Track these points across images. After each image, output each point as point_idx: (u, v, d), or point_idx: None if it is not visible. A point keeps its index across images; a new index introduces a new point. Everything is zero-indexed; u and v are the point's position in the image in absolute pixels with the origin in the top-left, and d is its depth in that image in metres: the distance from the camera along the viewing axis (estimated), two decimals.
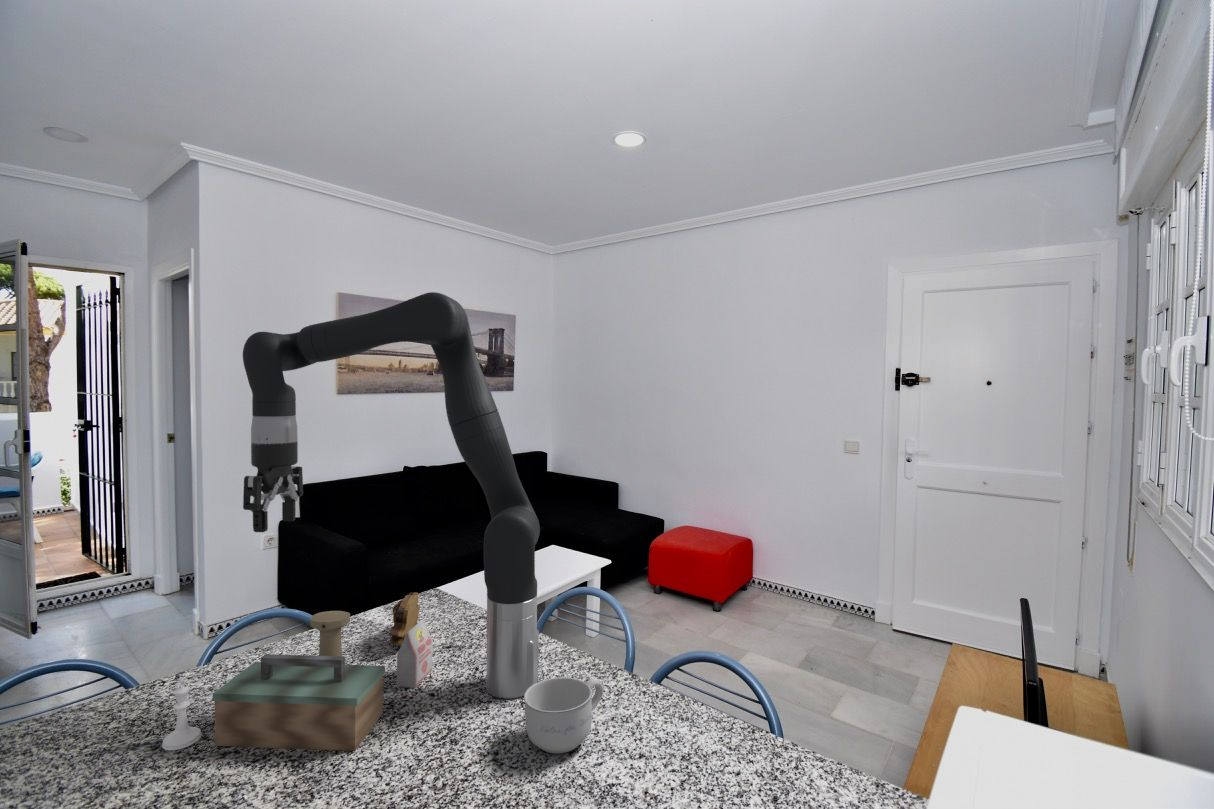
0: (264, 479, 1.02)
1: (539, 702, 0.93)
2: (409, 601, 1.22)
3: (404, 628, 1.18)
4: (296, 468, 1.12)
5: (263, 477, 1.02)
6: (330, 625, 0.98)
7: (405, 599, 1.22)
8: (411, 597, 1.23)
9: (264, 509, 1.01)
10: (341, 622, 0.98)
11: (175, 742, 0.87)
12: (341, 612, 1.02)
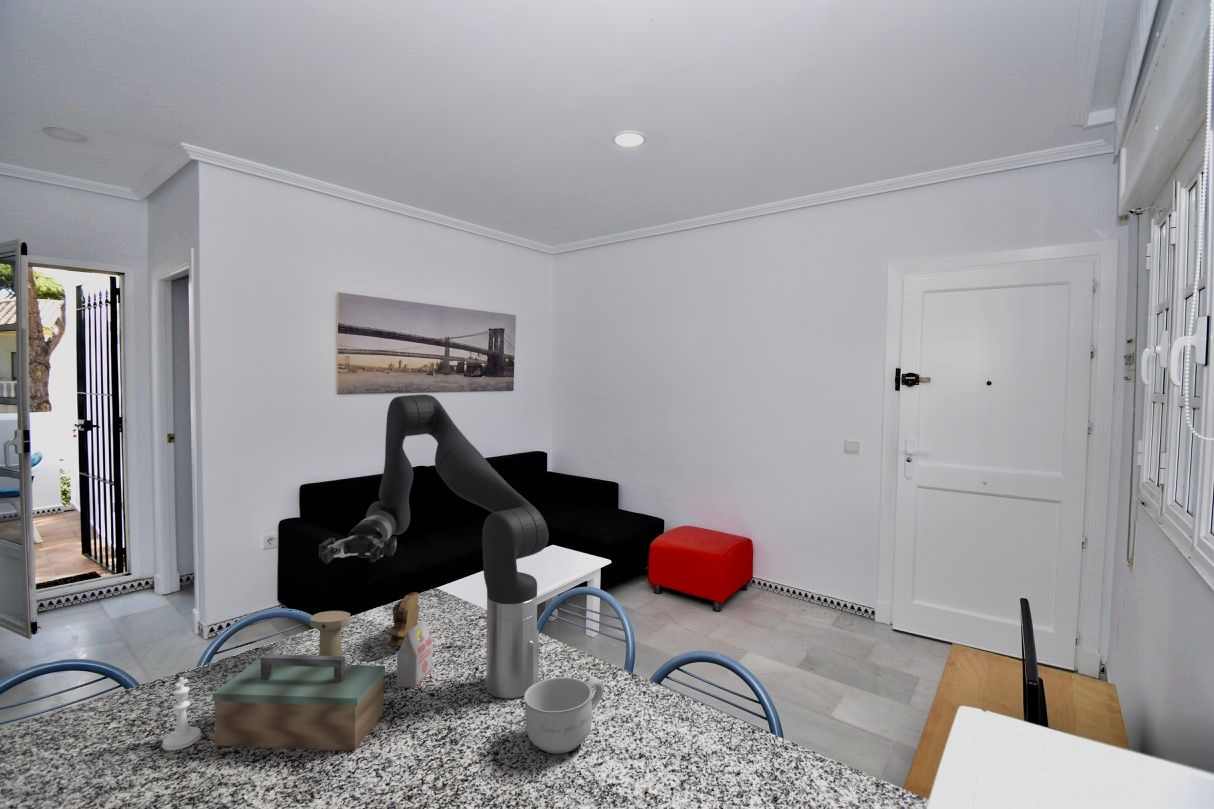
0: None
1: (539, 702, 0.93)
2: (409, 601, 1.22)
3: (404, 628, 1.18)
4: None
5: None
6: (330, 625, 0.98)
7: (405, 599, 1.22)
8: (411, 597, 1.23)
9: (329, 546, 1.14)
10: (341, 622, 0.98)
11: (175, 742, 0.87)
12: (341, 612, 1.02)
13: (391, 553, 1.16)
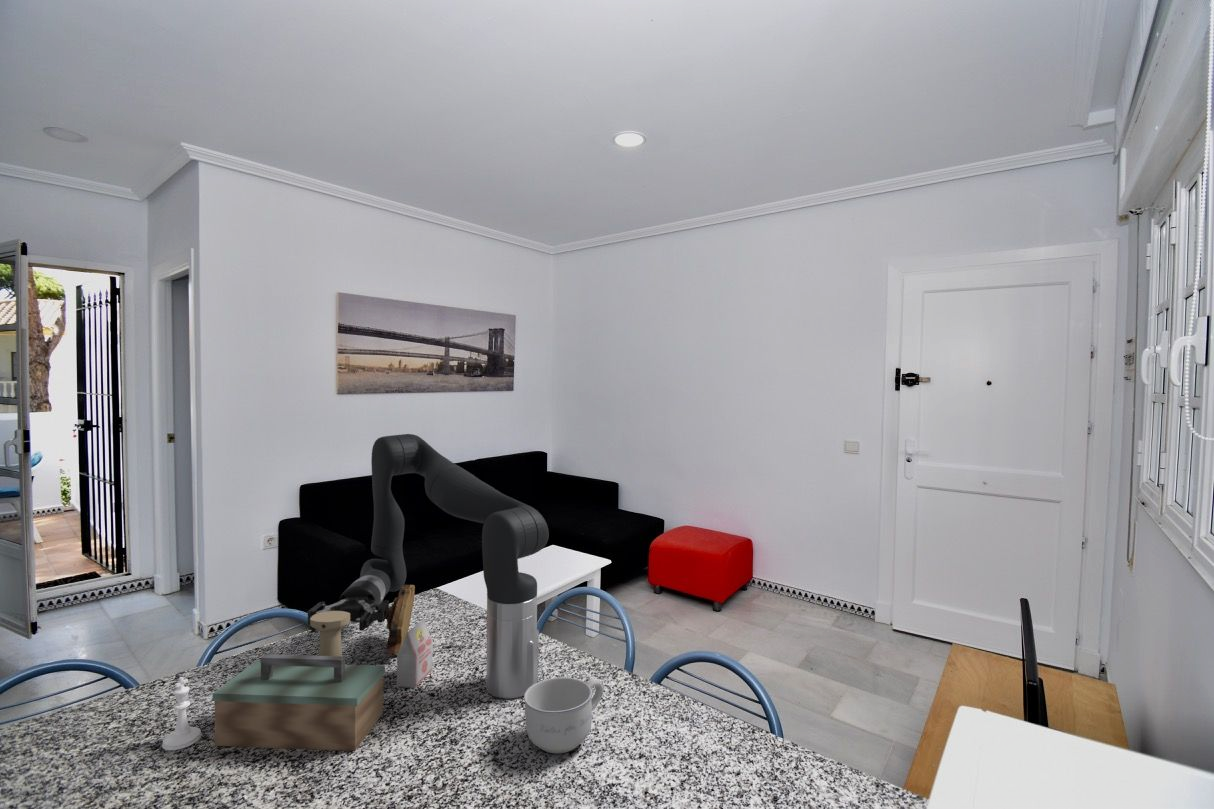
0: None
1: (539, 702, 0.93)
2: (401, 614, 1.15)
3: (400, 641, 1.15)
4: None
5: None
6: (330, 625, 0.98)
7: (397, 610, 1.16)
8: (403, 606, 1.17)
9: (317, 612, 1.09)
10: (341, 622, 0.98)
11: (175, 742, 0.87)
12: (341, 612, 1.02)
13: (382, 619, 1.11)
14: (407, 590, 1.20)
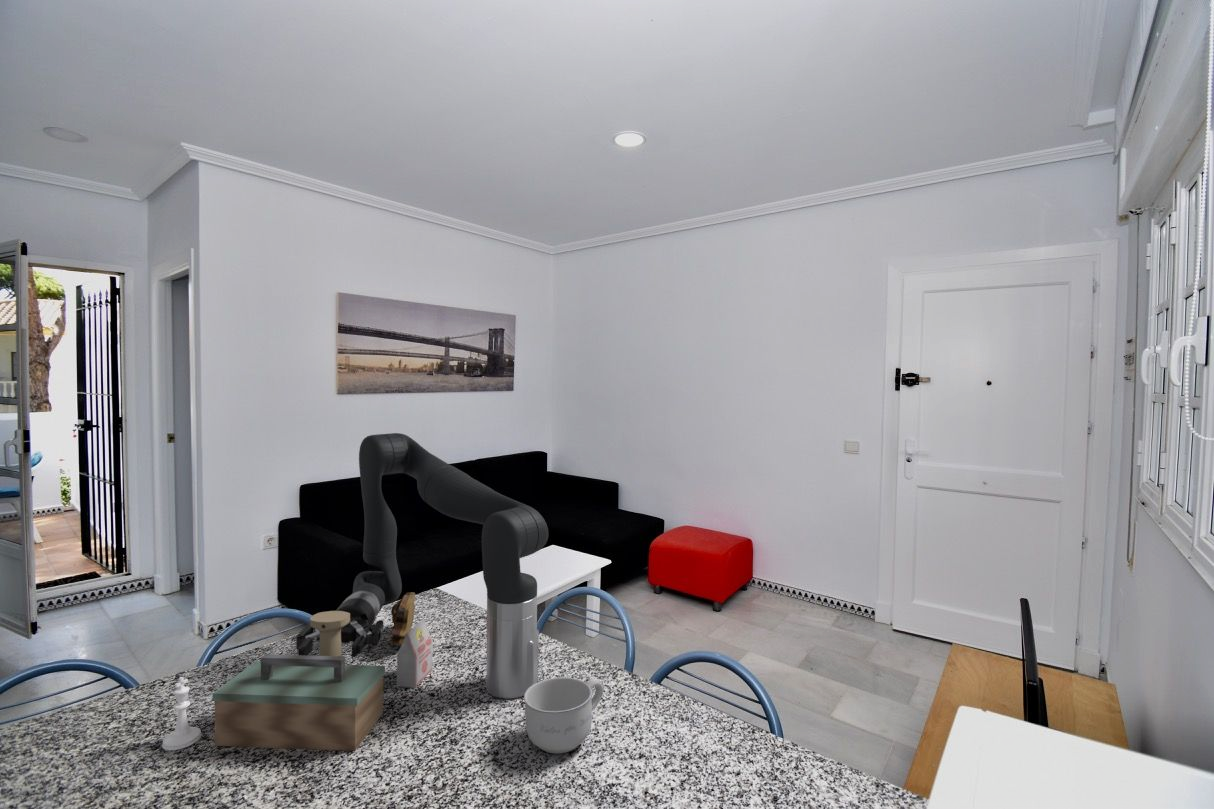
0: None
1: (539, 702, 0.93)
2: (408, 601, 1.22)
3: (405, 628, 1.18)
4: None
5: None
6: (330, 625, 0.98)
7: (404, 599, 1.22)
8: (410, 597, 1.23)
9: (307, 636, 1.02)
10: (341, 622, 0.98)
11: (175, 742, 0.87)
12: (341, 612, 1.02)
13: (376, 643, 1.05)
14: (412, 593, 1.27)
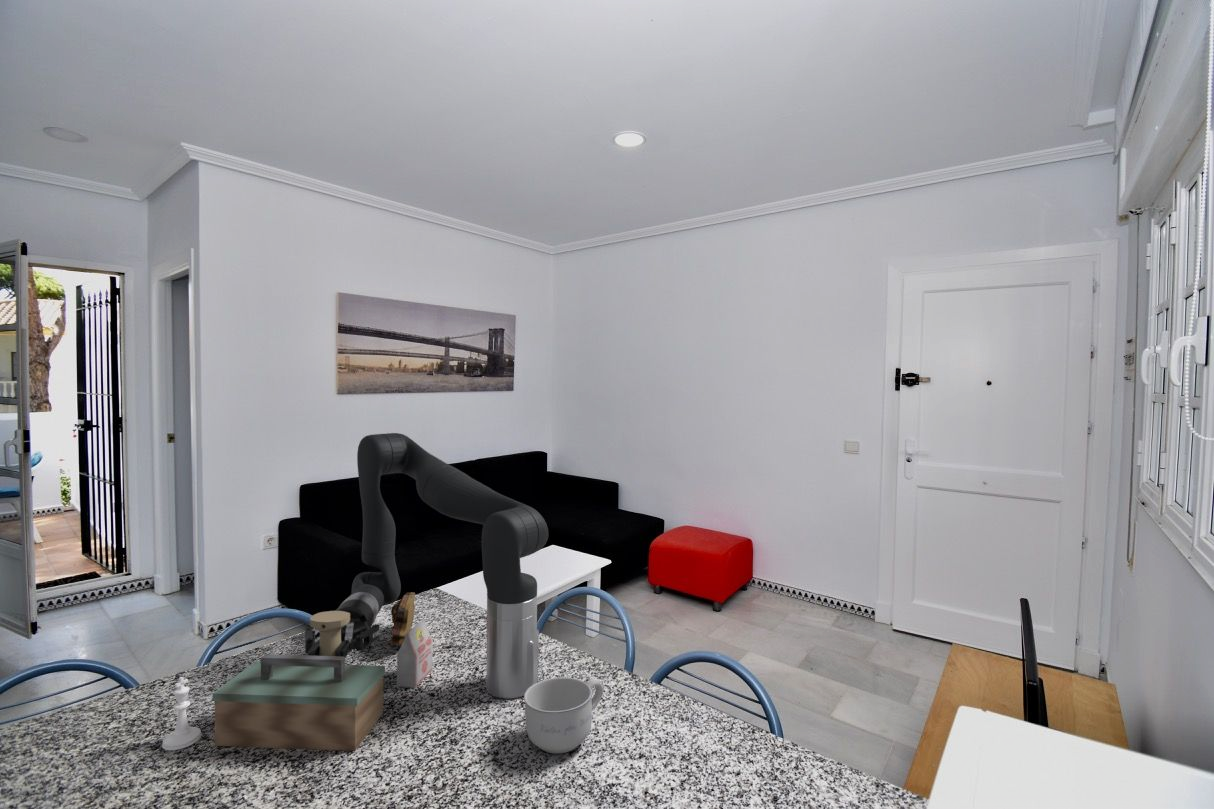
0: None
1: (539, 702, 0.93)
2: (408, 601, 1.22)
3: (405, 628, 1.18)
4: None
5: None
6: (330, 625, 0.98)
7: (404, 599, 1.22)
8: (410, 597, 1.23)
9: (317, 640, 1.01)
10: (341, 622, 0.98)
11: (175, 742, 0.87)
12: (341, 612, 1.02)
13: (360, 648, 1.03)
14: (412, 593, 1.27)
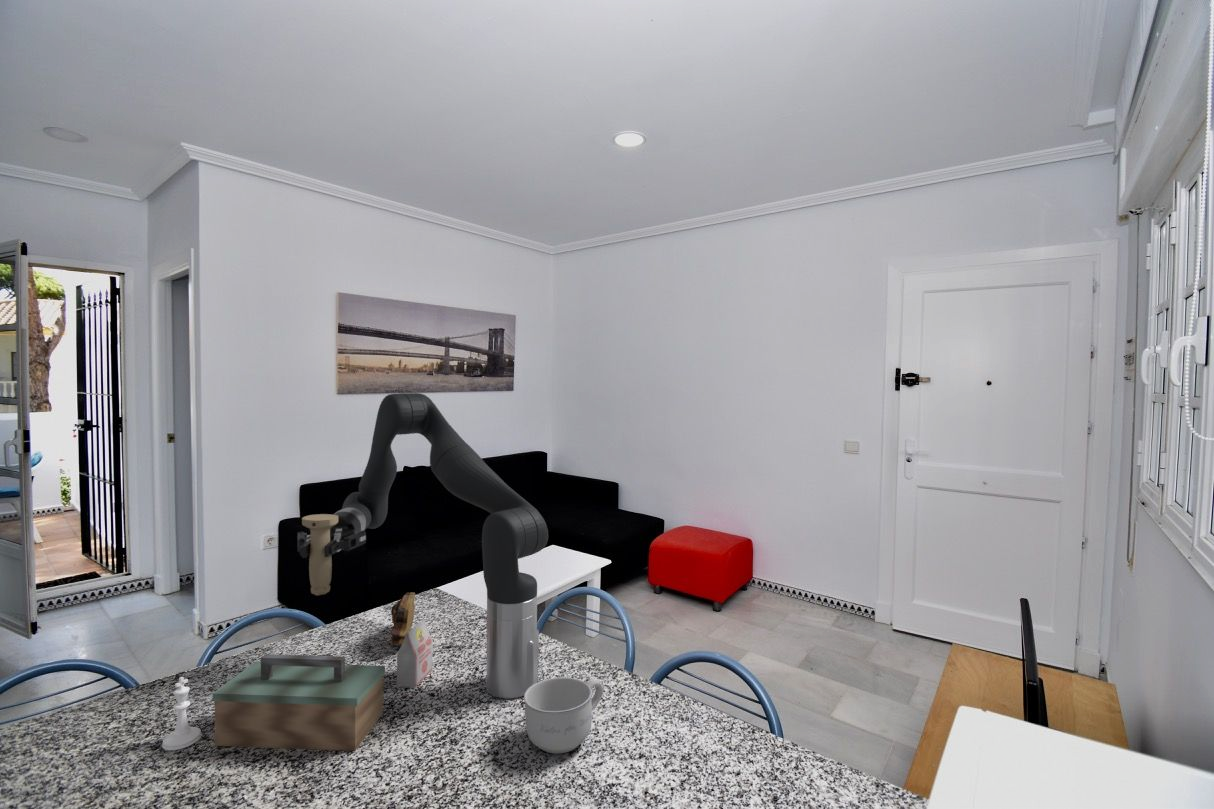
0: None
1: (539, 702, 0.93)
2: (408, 601, 1.22)
3: (405, 628, 1.18)
4: None
5: None
6: (320, 523, 1.08)
7: (404, 599, 1.22)
8: (410, 597, 1.23)
9: (308, 539, 1.11)
10: (330, 521, 1.09)
11: (175, 742, 0.87)
12: (330, 515, 1.12)
13: (347, 548, 1.13)
14: (412, 593, 1.27)
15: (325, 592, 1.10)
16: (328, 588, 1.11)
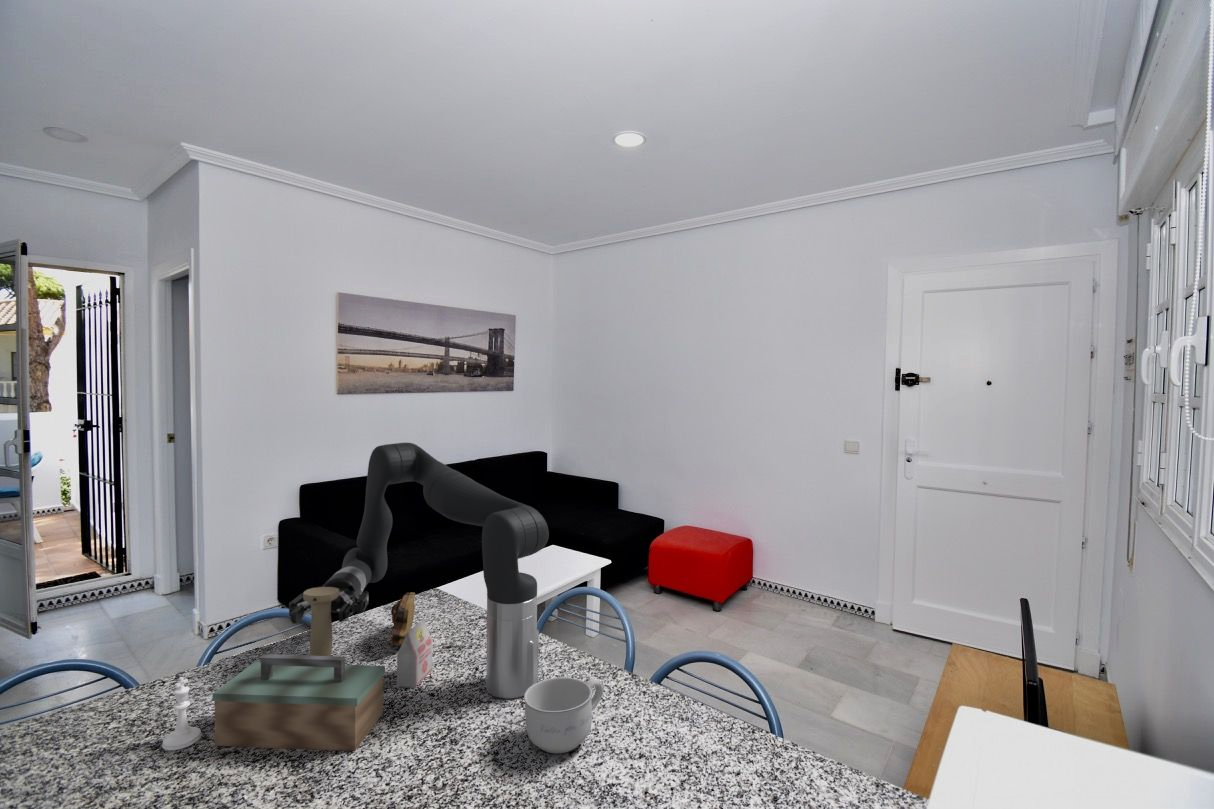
0: None
1: (539, 702, 0.93)
2: (408, 601, 1.22)
3: (405, 628, 1.18)
4: None
5: None
6: (321, 598, 1.10)
7: (404, 599, 1.22)
8: (410, 597, 1.23)
9: (298, 604, 1.14)
10: (331, 596, 1.10)
11: (175, 742, 0.87)
12: (331, 588, 1.14)
13: (361, 610, 1.16)
14: (412, 593, 1.27)
15: None
16: None
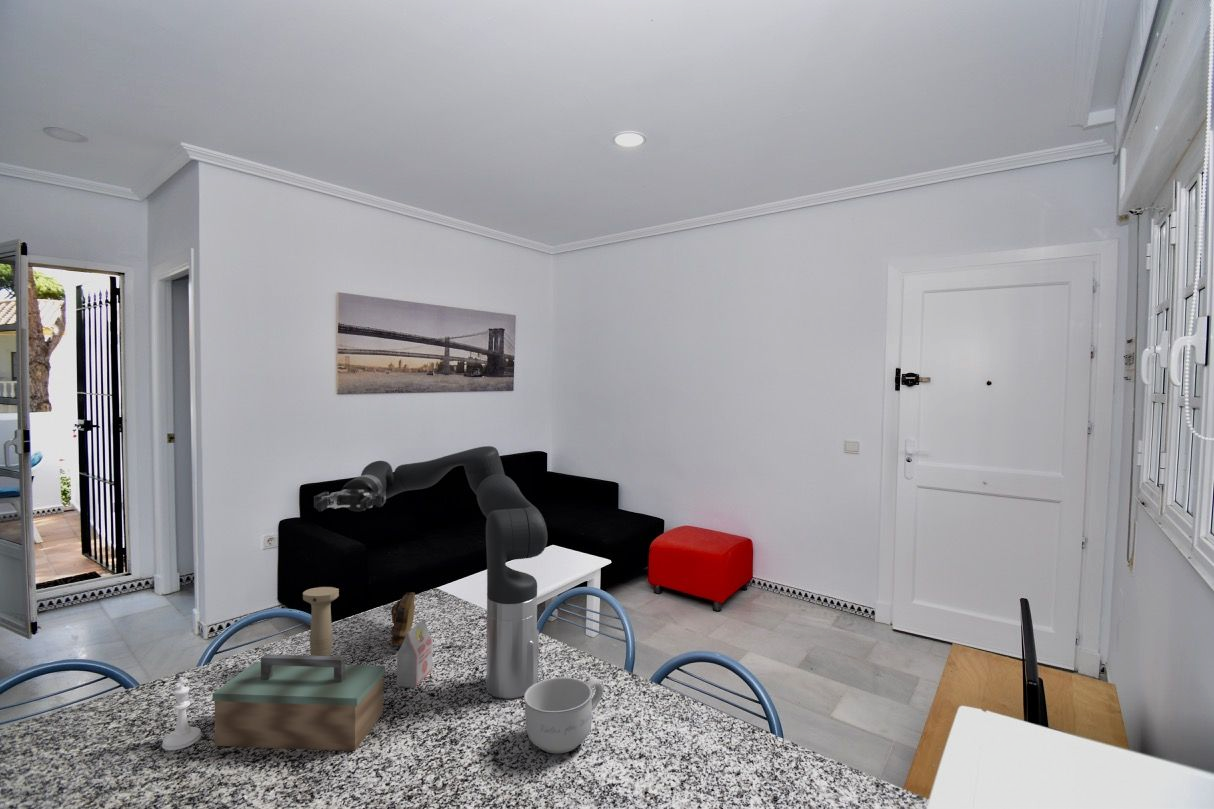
0: None
1: (539, 702, 0.93)
2: (408, 601, 1.22)
3: (405, 628, 1.18)
4: None
5: None
6: (321, 598, 1.10)
7: (404, 599, 1.22)
8: (410, 597, 1.23)
9: (323, 496, 1.24)
10: (330, 596, 1.10)
11: (175, 742, 0.87)
12: (331, 588, 1.14)
13: (380, 504, 1.26)
14: (412, 593, 1.27)
15: None
16: None
